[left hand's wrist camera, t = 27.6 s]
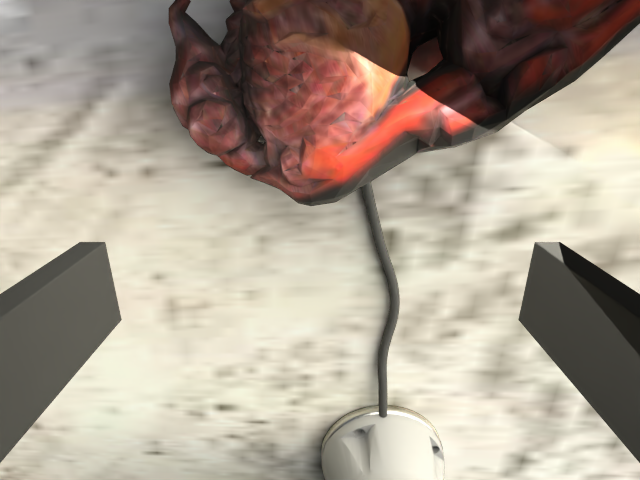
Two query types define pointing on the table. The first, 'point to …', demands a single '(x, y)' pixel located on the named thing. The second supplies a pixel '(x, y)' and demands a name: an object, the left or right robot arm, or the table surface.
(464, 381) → the table surface
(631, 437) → the left robot arm
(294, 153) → the sculpture
